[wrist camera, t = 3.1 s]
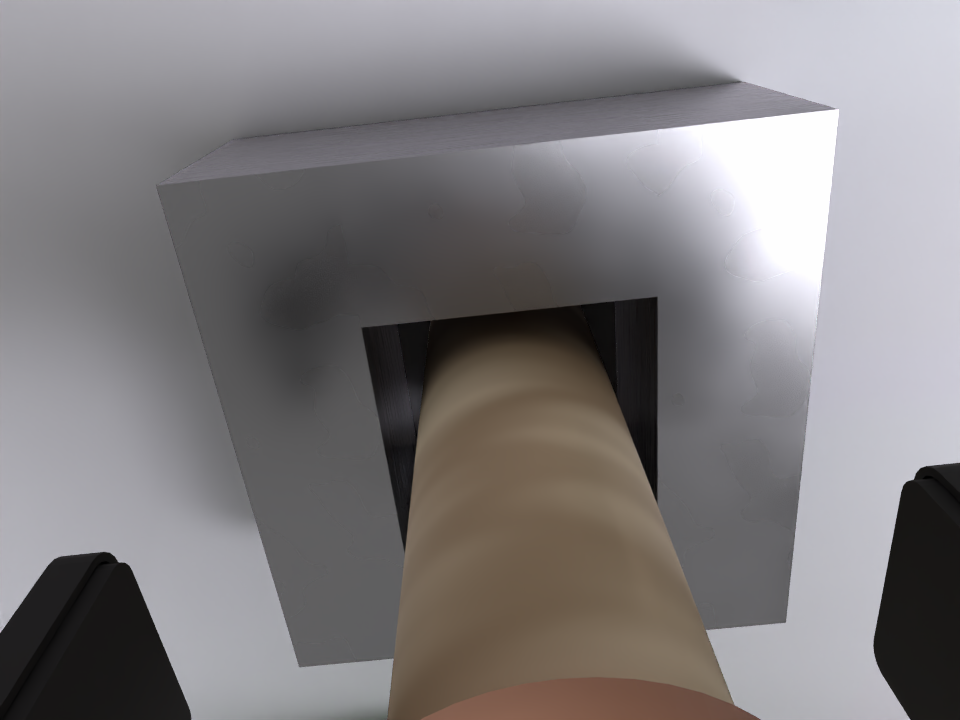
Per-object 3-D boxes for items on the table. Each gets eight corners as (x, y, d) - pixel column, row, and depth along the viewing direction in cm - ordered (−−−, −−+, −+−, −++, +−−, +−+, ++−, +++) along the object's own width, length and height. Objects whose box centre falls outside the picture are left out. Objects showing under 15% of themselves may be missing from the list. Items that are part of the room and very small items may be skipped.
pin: (603, 237, 16) (920, 776, 5) (609, 417, 17) (844, 1091, 7) (395, 260, 16) (245, 833, 5) (424, 436, 18) (361, 1127, 7)
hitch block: (743, 82, 14) (838, 109, 11) (723, 501, 19) (785, 622, 15) (232, 139, 15) (156, 185, 11) (330, 540, 19) (299, 667, 15)
